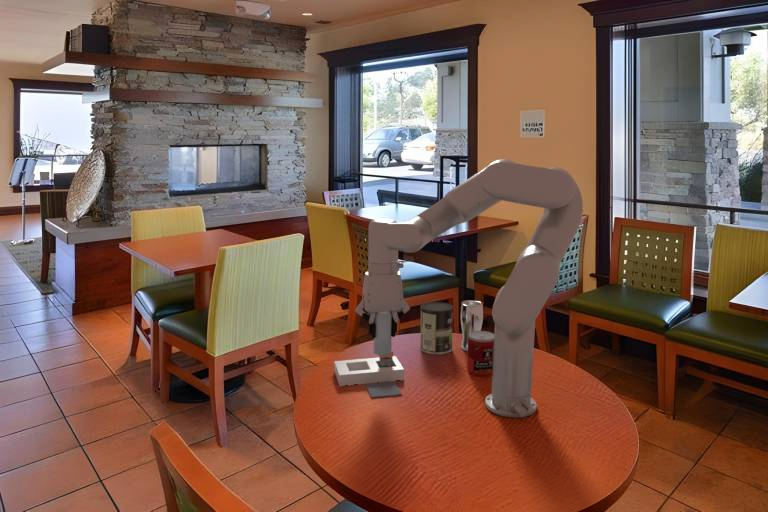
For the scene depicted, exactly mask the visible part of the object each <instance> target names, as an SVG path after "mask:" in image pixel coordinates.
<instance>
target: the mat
mask: <svg viewBox="0 0 768 512" xmlns="http://www.w3.org/2000/svg"><path fill="white" fill-rule="evenodd" d="M365 387H366V389H367V391H368V394H369V395H370V397H371V399H379V398H387V397H398V395H399V396H402V392H401V390H400V388H399V387H398V385H397V383H396V381H390V382H379V383H369V384H365Z"/></svg>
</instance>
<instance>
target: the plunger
mask: <svg viewBox="0 0 768 512" xmlns="http://www.w3.org/2000/svg"><path fill="white" fill-rule="evenodd" d="M393 356H394V351H393V350H391V353H390V354H388V355H378V357H380V368H383V367H392V357H393Z"/></svg>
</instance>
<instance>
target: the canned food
mask: <svg viewBox="0 0 768 512" xmlns="http://www.w3.org/2000/svg"><path fill="white" fill-rule="evenodd" d="M493 349H494V333H493V332H490V331H486V330H481V331H473V332H471V333H469V336H468V351H467V364H466V365H467V368H466V369H467V371H468V373H469V374H470V375H472V376H475V377H481V378H482V377H483V378H484V377H489V376H492V373H493Z"/></svg>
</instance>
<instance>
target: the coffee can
mask: <svg viewBox="0 0 768 512" xmlns="http://www.w3.org/2000/svg"><path fill="white" fill-rule="evenodd" d="M453 312H454V306H453V305H452V304H450V303H447V302H440V301H431V302H424V303H421V305H420V343H419V344H420V346H419V350H420V351H422V352H423V353H425V354H429V355H446V354H449V353H451V352H452V351H453V321H454V319H453V318H454V317H453V315H454V313H453Z"/></svg>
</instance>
